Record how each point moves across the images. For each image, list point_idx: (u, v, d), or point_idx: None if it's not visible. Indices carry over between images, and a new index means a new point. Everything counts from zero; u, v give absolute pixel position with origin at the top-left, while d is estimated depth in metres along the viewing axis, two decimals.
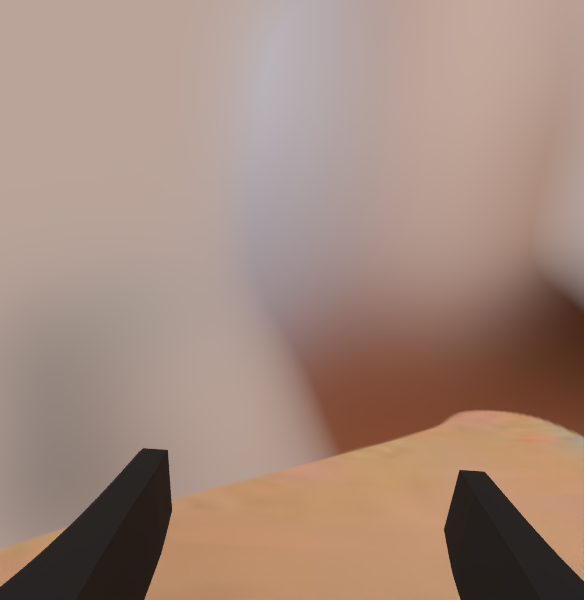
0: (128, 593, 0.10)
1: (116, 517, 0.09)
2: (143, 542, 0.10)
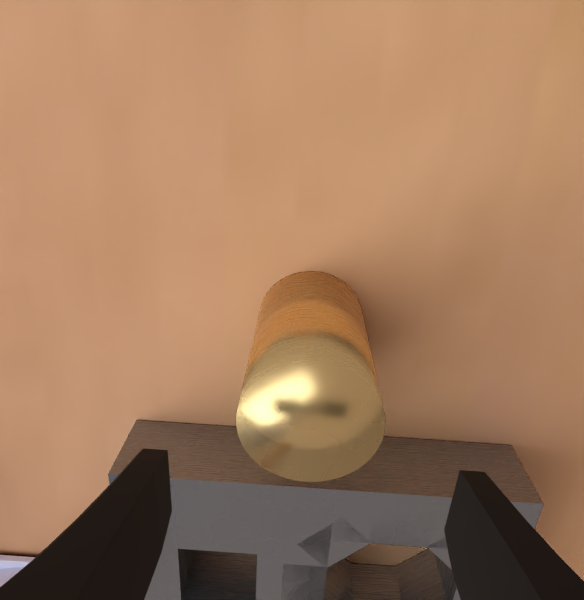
0: (128, 593, 0.10)
1: (116, 517, 0.09)
2: (143, 542, 0.10)
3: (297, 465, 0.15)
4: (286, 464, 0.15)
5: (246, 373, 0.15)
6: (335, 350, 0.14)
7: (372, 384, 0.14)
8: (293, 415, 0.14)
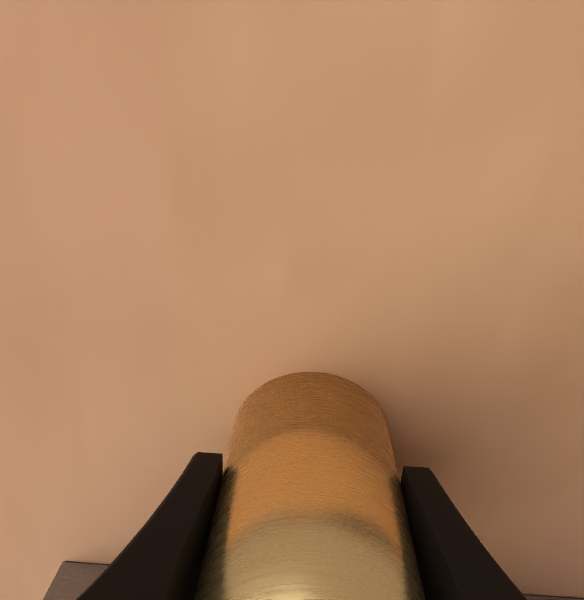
0: (193, 598, 0.10)
1: (185, 522, 0.09)
2: (204, 546, 0.10)
3: None
4: None
5: None
6: None
7: None
8: None
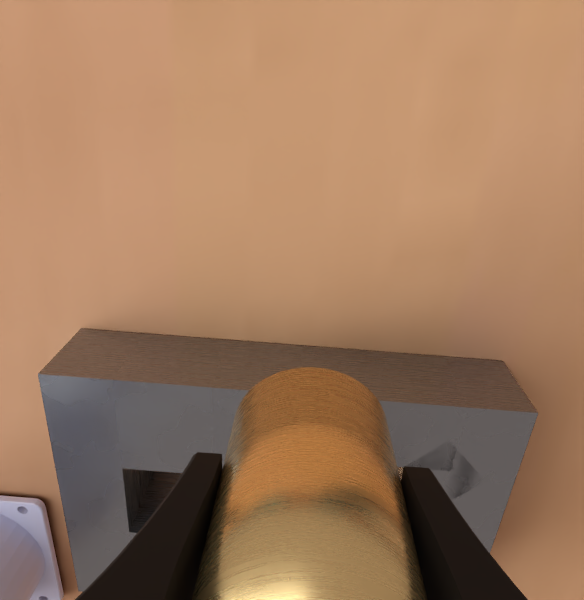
0: None
1: (184, 522, 0.09)
2: None
3: None
4: None
5: None
6: (354, 593, 0.07)
7: None
8: None
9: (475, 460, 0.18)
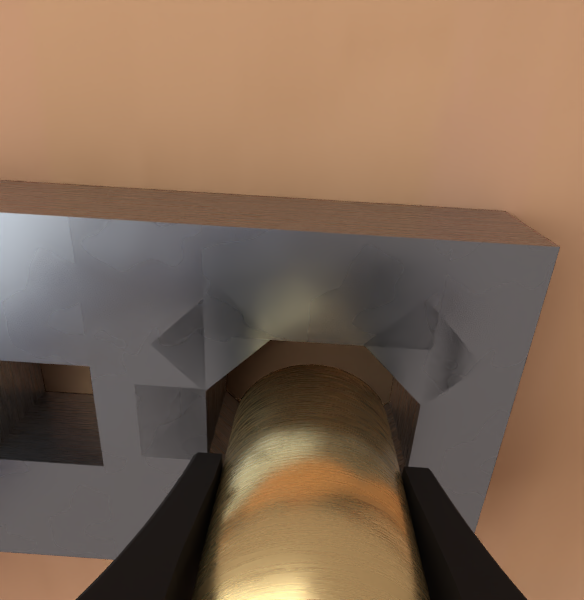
0: None
1: (185, 522, 0.09)
2: None
3: None
4: None
5: (192, 598, 0.08)
6: (351, 583, 0.07)
7: None
8: None
9: (467, 331, 0.12)
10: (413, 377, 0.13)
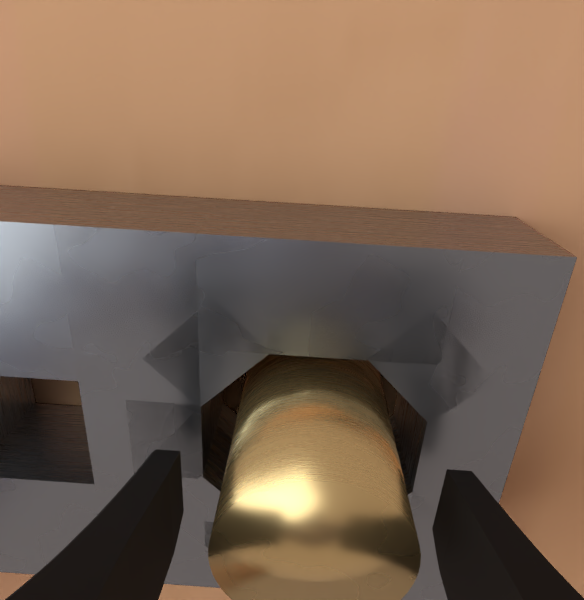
0: (143, 594, 0.10)
1: (132, 518, 0.09)
2: (157, 543, 0.10)
3: None
4: None
5: (223, 479, 0.11)
6: (343, 454, 0.10)
7: (399, 503, 0.10)
8: (288, 549, 0.10)
9: (476, 345, 0.12)
10: (420, 393, 0.12)
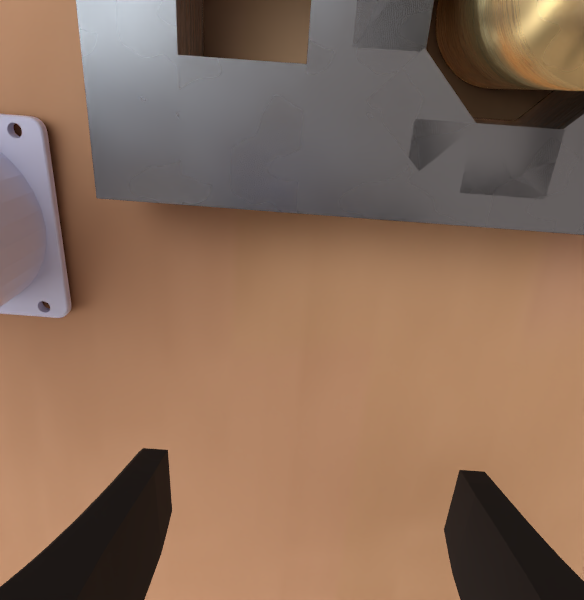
0: (128, 593, 0.10)
1: (116, 517, 0.09)
2: (143, 542, 0.10)
3: None
4: (582, 56, 0.10)
5: None
6: None
7: None
8: None
9: None
10: None
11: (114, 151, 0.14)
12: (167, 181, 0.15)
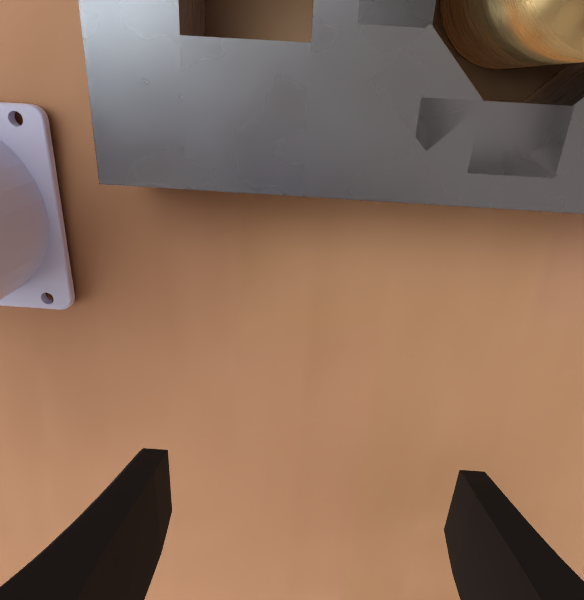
0: (128, 593, 0.10)
1: (116, 517, 0.09)
2: (143, 542, 0.10)
3: None
4: None
5: None
6: None
7: None
8: None
9: None
10: None
11: (116, 135, 0.14)
12: (170, 165, 0.15)
